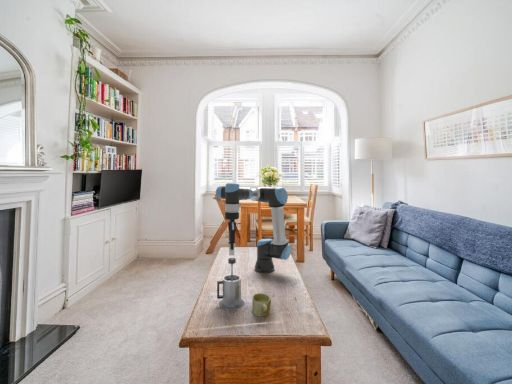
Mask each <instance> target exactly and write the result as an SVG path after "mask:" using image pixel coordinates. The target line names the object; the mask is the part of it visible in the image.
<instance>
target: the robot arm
mask: <svg viewBox="0 0 512 384" xmlns="http://www.w3.org/2000/svg"><path fill="white" fill-rule="evenodd" d="M215 196H216V197H217V198H218V199H221V200H225V202H224V203H225V204H224V206H223V207H224V208H225V210H224V211H225V213H224V219H226V220H229V221H228V222H227V225H228V242H227V243H228V256H235V243H236V227H237V223H236V221H235V220H238V219H240V212H239V211H240V201H244V200H245V201H247V200H250V201H253V202H259V203H266V204H268V208H270V210H271V222H272V233H273V239H272V238H262V239H259V240H258V241H257V243H256V261H255V264H254V270H255V271H256V272H259V273H264V272H266V273H271V271H272V272H274V271H275V265H274V261H273V259H278V260H284V261H288V259H289V258H290V256H291V255H292V245H291V243H289V240H288V239H287V237H286V225H285V217H284V216H285V215H284V207H285V206H286V204H287V203H288V199H289V197H288V191H287V190H286V189H285V188H284V187H282V186H258V187H256V186H255V187H249V186H240V184H239V183H237V182H233V183H232V182H230V183H229V182H227V183H226V184H225V185H222V186H218V187H216V190H215ZM273 270H274V271H273Z"/></svg>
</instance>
